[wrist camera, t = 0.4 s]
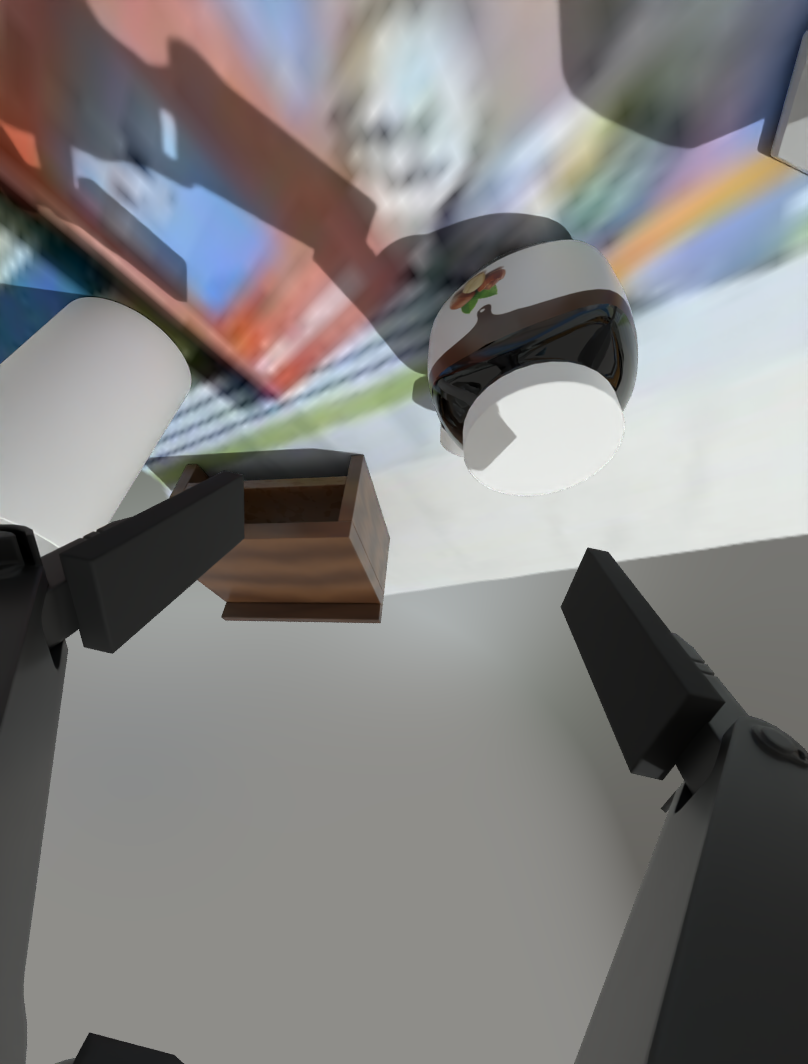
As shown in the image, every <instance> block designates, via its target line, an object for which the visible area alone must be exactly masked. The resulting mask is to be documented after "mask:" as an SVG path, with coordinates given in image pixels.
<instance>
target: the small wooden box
mask: <svg viewBox="0 0 808 1064" xmlns="http://www.w3.org/2000/svg"><path fill="white" fill-rule="evenodd" d="M207 479H209V477H208V476H207V475H206V474H205V472H204V471H203V470H202V469H201V468H200V466H199V465H198V464H188V465H186V467H185V469H184V471H183V473H182V475H181V477H180V479H179V481H178V482H177V484H176V486H175V488H174V490H173V492H172V494H171V496H170V498H171V497H173V496H175V495H177V494H179V493H181V492H183V491H185V490H187V489H189V488H191V487H193V486H195V485H197V484H199V483H201V482H203V481H205V480H207ZM244 535H245V538H244V539H243V540H242V541H241V542H240V543H239V544H238V545H236V546H235V547H234V548H233V549H232V550H231V551H230V552H228V553H227V554H226V555H225V556H224V557H223V558H222V559H220V560H219V561H218V562H217V563H216V564H215V565H214V566H212V567H211V568H210V569H209V570H208V571H207V572H206V573H204V574H203V575H202V576H201V577H200V578H199V579H198V581H199V582H201V583H202V584H203V585H205V586H206V587H207V588H209V589H210V590H211V591H213V592H214V593H215V594H216V595H218V596H219V597H221V598H222V599H223V600H224V601H226V602H227V603H226V605H225V608H224V611H223V614H222V618H223V619H224V620H231V621H232V620H233V621H288V622H345V623H346V622H347V623H349V622H350V623H381V616H382V605H383V597H384V588H385V579H386V569H387V560H388V551H389V541H390V537H389V534H388V531H387V527H386V524H385V521H384V518H383V515H382V512H381V508H380V505H379V502H378V499H377V496H376V493H375V489H374V486H373V483H372V480H371V477H370V474H369V470H368V467H367V464H366V461H365V458H364V455H354V456H351V460H350V465H349V470H348V474H347V476H338V477H315V478H293V479H271V480H249V481H244Z"/></svg>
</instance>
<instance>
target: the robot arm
mask: <svg viewBox="0 0 808 1064" xmlns="http://www.w3.org/2000/svg"><path fill="white" fill-rule="evenodd" d="M244 538H245V535H244V475H242V474H237V473H233V472H228V471H223V472H221V473H219V474H217V475H215V476H213V477H211V478H209V479H207V480H205V481H203V482H201V483H199V484H197V485H195V486H193V487H191V488H189V489H187V490H185V491H183V492H181V493H179V494H177V495H175V496H173V497H171V498H169V499H167V500H165V501H163V502H161V503H159V504H157V505H155V506H153V507H151V508H149V509H147V510H145V511H143V512H141V513H139V514H137V515H135V516H133V517H129V518H126V519H122V520H118V521H114V522H111V523H109V524H107V525H105V526H103V527H101V528H99V529H97V530H96V532H95V531H93V532H91V533H89V534H87V535H85V536H83V538H78V539H76V540H74V541H72V542H70V543H68V544H66V545H64V546H62V547H60V548H58V549H56V550H54V551H52V552H50V553H48V554H46V555H44V556H42V557H41V556H40V553H39V549H38V546H37V543H36V539H35V536H34V533H33V530H32V529H30V528H28V527H26V526H22V525H15V524H0V1064H25V1061H26V1049H27V1021H26V1013H25V1004H24V995H23V992H24V991H23V990H24V988H23V987H24V986H23V984H24V971H25V964H26V957H27V949H28V942H29V934H30V927H31V920H32V912H33V905H34V898H35V891H36V883H37V876H38V868H39V861H40V854H41V846H42V839H43V831H44V824H45V817H46V809H47V802H48V794H49V787H50V779H51V773H52V772H51V771H52V765H53V757H54V750H55V743H56V735H57V728H58V721H59V713H60V705H61V698H62V691H63V684H64V677H65V669H66V662H67V654H68V648H67V645H66V641H65V638H67V637H69V636H70V635H71V634H73V633H74V632H75V631H77V630H78V629H79V631H80V635H81V638H82V642H83V646H84V647H86V648H90V649H94V650H99V651H103V652H107V653H114V652H115V651H116V650H117V649H118V648H120V647H121V646H122V645H123V644H124V643H125V642H127V641H128V640H129V639H130V638H131V637H132V636H133V635H135V634H136V633H137V632H138V631H139V630H140V629H141V628H143V627H144V626H145V625H146V624H147V623H148V622H149V621H151V619H153V618H154V617H155V616H156V615H157V614H158V613H160V612H161V611H162V610H163V609H164V608H166V607H167V606H168V605H169V604H170V603H171V602H172V601H173V600H174V599H176V598H177V597H178V596H179V595H180V594H182V592H184V591H185V590H186V589H187V588H188V587H190V586H191V585H192V584H193V583H194V582H195V581H196V580H198V579H199V578H200V577H201V576H202V575H203V574H204V573H206V572H207V571H208V570H209V569H210V568H211V567H212V566H214V565H215V564H216V563H217V562H218V561H219V560H220V559H222V558H223V557H224V556H225V555H226V554H227V553H228V552H230V551H231V550H232V549H233V548H234V547H235V546H236V545H238V544H239V543H240V542H241V541H242V540H243V539H244ZM561 609H562V611H563V614H564V616H565V618H566V621H567V623H568V625H569V628H570V630H571V633H572V635H573V637H574V640H575V642H576V644H577V647H578V649H579V651H580V654H581V656H582V659H583V661H584V663H585V666H586V668H587V670H588V673H589V675H590V678H591V680H592V682H593V685H594V687H595V689H596V692H597V694H598V696H599V699H600V701H601V704H602V706H603V708H604V711H605V713H606V715H607V718H608V720H609V722H610V725H611V727H612V730H613V732H614V734H615V737H616V739H617V741H618V744H619V746H620V749H621V751H622V753H623V755H624V758H625V760H626V763H627V765H628V767H629V770H630V772H631V773H633V774H637V775H642V776H646V777H651V778H655V779H659V780H663V779H664V778H665V777H666V775H667V774H668V773H669V772H670V770H671V769H672V768H673V767H674V765H675V764H676V766H677V768H678V770H679V771H680V773H681V775H682V777H683V779H684V782H683V783H682V784H681V786H680V787H679V788H678V789H677V790H676V791H675V792H674V794H673V795H672V796H671V797H670V798H669V800H668V801H667V802H666V803H665V804H664V806H663V807H662V808H661V809H662V810H663V811H664V812H667V811H668V810H669V812H668V814H667V817H666V819H665V822H664V825H663V828H662V830H661V833H660V836H659V838H658V841H657V844H656V846H655V849H654V852H653V854H652V857H651V860H650V862H649V865H648V868H647V870H646V873H645V876H644V879H643V881H642V884H641V887H640V889H639V892H638V894H637V897H636V900H635V903H634V905H633V908H632V910H631V913H630V916H629V919H628V921H627V924H626V927H625V929H624V932H623V935H622V937H621V940H620V943H619V945H618V948H617V951H616V953H615V956H614V959H613V962H612V964H611V967H610V969H609V972H608V975H607V977H606V980H605V983H604V986H603V988H602V991H601V993H600V996H599V999H598V1001H597V1004H596V1007H595V1010H594V1012H593V1015H592V1017H591V1020H590V1023H589V1026H588V1028H587V1031H586V1034H585V1036H584V1039H583V1042H582V1044H581V1047H580V1050H579V1052H578V1055H577V1058H576V1060H575V1063H574V1064H808V753H807V751H806V750H805V749H804V748H803V747H802V746H801V745H800V744H799V743H798V742H796V741H795V740H794V739H793V738H792V737H791V736H789V735H788V734H786V733H785V732H783V731H782V730H780V729H779V728H777V727H776V726H774V725H772V724H770V723H767V722H766V721H764V720H762V719H759V718H755V717H752V716H749V715H748V714H747V713H746V712H745V710H744V709H743V708H742V707H741V706H740V704H739V703H738V702H737V701H736V699H735V698H734V697H733V696H732V695H731V693H730V692H729V691H728V690H727V688H726V687H725V686H724V685H723V683H722V682H721V681H720V680H719V679H718V677H716V676H714V672H713V671H712V670H711V669H710V668H709V666H708V665H706V664H704V660H703V659H702V658H701V657H700V655H699V654H698V653H697V652H696V650H695V649H694V648H693V647H692V646H690V645H689V644H688V643H687V642H686V641H684V640H683V639H682V638H681V637H680V636H678V635H677V634H675V633H671V632H670V630H669V629H668V628H667V626H666V625H665V624H664V623H663V621H662V620H661V619H660V618H659V616H658V615H657V614H656V613H655V611H654V610H653V609H652V607H651V606H650V605H649V603H648V602H647V601H646V600H645V598H644V597H643V596H642V595H641V593H640V592H639V591H638V590H637V588H636V587H635V586H634V584H633V583H632V582H631V580H630V579H629V578H628V577H627V575H626V574H625V573H624V572H623V570H622V569H621V568H620V566H619V565H618V564H617V563H616V561H615V560H614V559H613V557H612V556H611V555H610V554H609V552H606V551H602V550H597V549H592V548H587V550H586V552H585V554H584V556H583V559H582V561H581V563H580V565H579V567H578V570H577V572H576V574H575V576H574V579H573V581H572V583H571V585H570V587H569V590H568V592H567V594H566V596H565V599H564V601H563V603H562V605H561ZM56 1064H184V1063H182V1062H181V1061H180V1060H179V1059H178V1058H177V1057H176V1056H175V1055H172V1054H168V1053H165V1052H161V1051H157V1050H153V1049H150V1048H146V1047H142V1046H138V1045H134V1044H131V1043H127V1042H123V1041H119V1040H115V1039H112V1038H108V1037H104V1036H101V1035H96V1034H93V1033H89V1034H88V1036H87V1038H86V1040H85V1042H84V1043H83V1045H82V1047H81V1049H80V1051H79V1053H78V1055H77V1056H76V1058H73V1059H68V1060H64V1061H62V1062H59V1063H56Z"/></svg>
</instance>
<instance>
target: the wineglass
mask: <svg viewBox="0 0 808 1064" xmlns="http://www.w3.org/2000/svg"><path fill="white" fill-rule="evenodd" d="M771 157H773V158H775V159H777V160H779V161H781V162H784V163H786V164H788V165H790V166H792V167H794V168H796V169H798V170H800V171H802V172H804V173H806V174H808V29H807V31H806V32H805V34H804V35H803V38H802V41H801V45H800V48H799V52H798V56H797V59H796V63H795V66H794V70H793V74H792V77H791V81H790V84H789V88H788V91H787V95H786V99H785V102H784V106H783V109H782V113H781V117H780V120H779V124H778V127H777V131H776V135H775V138H774V142H773V145H772V149H771Z"/></svg>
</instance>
